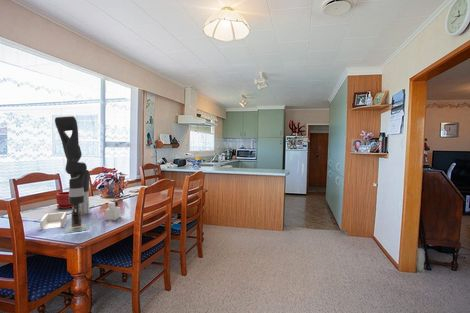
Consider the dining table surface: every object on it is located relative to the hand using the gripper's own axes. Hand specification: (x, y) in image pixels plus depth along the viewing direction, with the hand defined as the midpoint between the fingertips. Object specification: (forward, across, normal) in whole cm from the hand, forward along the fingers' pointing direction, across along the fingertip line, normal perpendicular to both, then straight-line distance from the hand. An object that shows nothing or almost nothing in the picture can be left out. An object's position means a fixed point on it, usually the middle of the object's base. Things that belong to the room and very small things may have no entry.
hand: (76, 222), depth 139 cm
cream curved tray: (+4, +14, +13) cm, 20 cm away
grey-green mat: (+4, 0, 0) cm, 4 cm away
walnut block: (+2, 0, 0) cm, 2 cm away
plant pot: (+5, +61, +12) cm, 62 cm away
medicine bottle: (+4, +14, -20) cm, 25 cm away
